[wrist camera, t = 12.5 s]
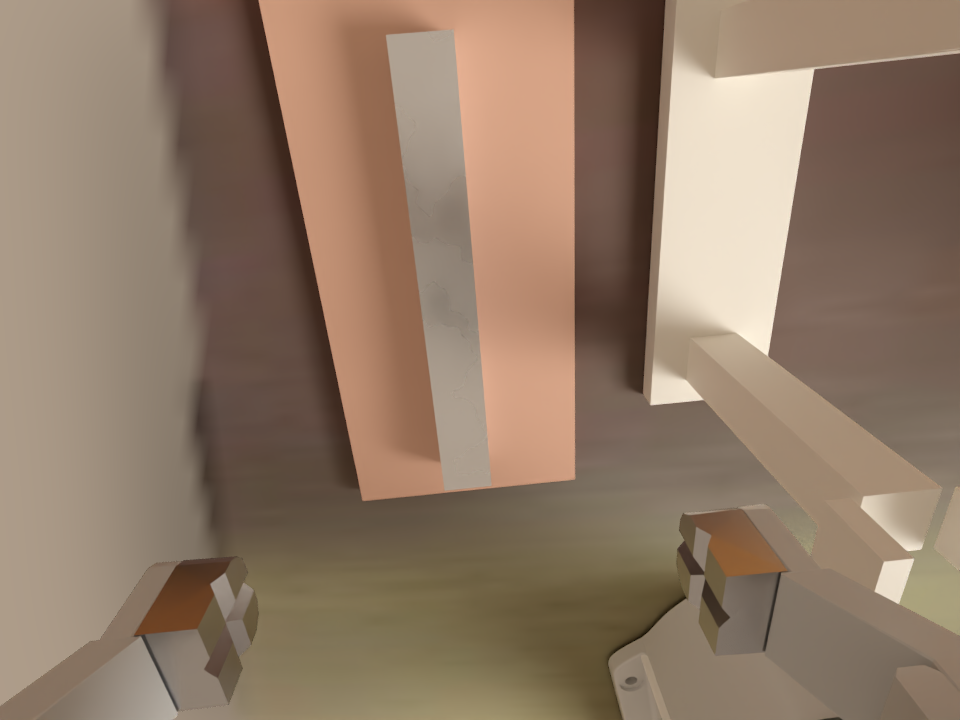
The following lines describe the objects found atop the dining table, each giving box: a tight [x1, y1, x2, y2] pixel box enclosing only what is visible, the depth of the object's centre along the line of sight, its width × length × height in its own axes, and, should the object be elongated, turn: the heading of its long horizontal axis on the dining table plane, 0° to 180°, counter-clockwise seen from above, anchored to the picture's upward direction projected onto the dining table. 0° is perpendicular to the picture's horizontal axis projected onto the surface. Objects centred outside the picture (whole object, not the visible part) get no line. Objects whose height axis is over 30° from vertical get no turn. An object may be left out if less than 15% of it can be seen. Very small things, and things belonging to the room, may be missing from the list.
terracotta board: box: [259, 0, 575, 501], centre depth 26 cm, size 24×12×1 cm, turn 4°
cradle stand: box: [643, 0, 960, 604], centre depth 19 cm, size 19×6×16 cm, turn 4°
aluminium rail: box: [386, 29, 492, 491], centre depth 25 cm, size 20×2×2 cm, turn 5°
